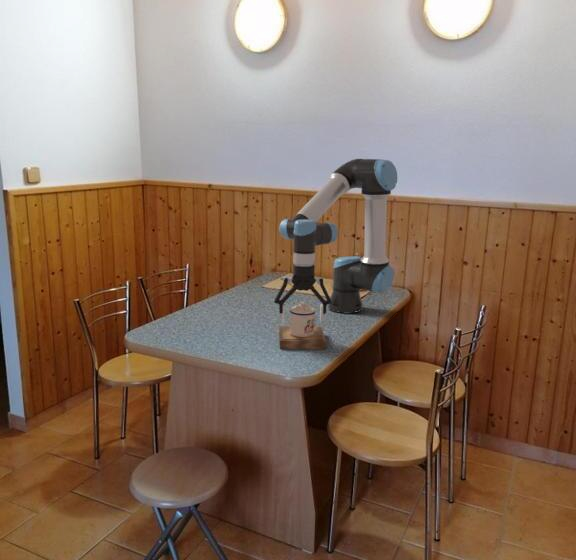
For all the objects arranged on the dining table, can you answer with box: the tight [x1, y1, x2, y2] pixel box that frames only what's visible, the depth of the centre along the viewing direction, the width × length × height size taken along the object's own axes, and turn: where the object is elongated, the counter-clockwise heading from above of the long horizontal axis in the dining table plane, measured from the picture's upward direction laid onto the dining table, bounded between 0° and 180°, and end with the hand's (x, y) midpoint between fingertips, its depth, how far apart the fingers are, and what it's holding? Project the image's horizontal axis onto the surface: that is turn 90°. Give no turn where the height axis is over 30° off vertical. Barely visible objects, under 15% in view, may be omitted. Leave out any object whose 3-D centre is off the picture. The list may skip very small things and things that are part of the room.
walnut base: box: [278, 325, 327, 350], centre depth 198 cm, size 16×16×3 cm
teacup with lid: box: [289, 301, 316, 337], centre depth 197 cm, size 12×9×12 cm
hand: (302, 322), depth 197 cm, fingers open, 13 cm apart
